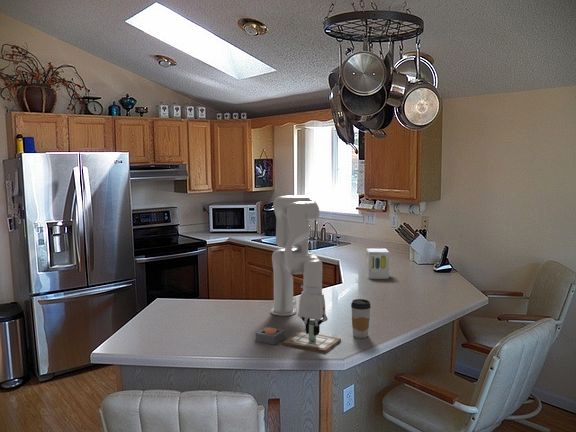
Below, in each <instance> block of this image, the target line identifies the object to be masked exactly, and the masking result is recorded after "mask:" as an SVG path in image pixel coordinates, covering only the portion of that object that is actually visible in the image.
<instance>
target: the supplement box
mask: <svg viewBox="0 0 576 432" xmlns="http://www.w3.org/2000/svg"><path fill="white" fill-rule="evenodd" d="M365 250H366V251H365V252H366V253H365V255H366V256H365V257H366V258H365V275H366V277H367V279H369V280H370V279H372V280H373V279H375V280H376V279H378V280H381V279H382V280H388V279H389V276H390V274H389V273H390V272H389V271H390V251H389V250H388V249H387V248H386V247H385V248H372V247H371V248H366V249H365Z"/></svg>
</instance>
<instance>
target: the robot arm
mask: <svg viewBox="0 0 576 432" xmlns="http://www.w3.org/2000/svg"><path fill="white" fill-rule="evenodd" d="M273 211H274V215H275V219H276V220H275V221H276V225H275V226H276V227H275V242H276V244H275V245H277V246H278V247H280V248H278V249H276V250H274V251H273V252H272V254H271V264H272V270H273V307H272V308H271V309H270V314H272V315H275V316H279V317H280V316H281V317H287V316H292V315H293V316H294V315H295V314H297V308H295V307H294V305H296V304H297V301H296V300H294V277H293V275H301V274H302V275H303V279H302V280H303V282H302V283H303V284H301V285H300V289H302V291H301V294H300V299H299V306H298V307H299V308H298V314H297V316H298V317H299V318H300V319H302V321H303V322H304V325H305V326H304V327H305V329H304V330H305V331H304V332H306V334H309V320H315V326H314V336H316V335H318V334H319V333H320V332H321V331H320V325H321V324H322V323H324V322H325V323H326V322H327V321H328V316H327V314H326V301H325V300H326V299H325V294H324V292H323V261H322V260H321V259H320V258H319V256H318V255H316V254H308V253H309V239H310V238H309V237H310V236H311V228H310V224H309V221H316V220H318V219H319V217H320V207H319V205H318V203H317V202H316V200H314V199H313V198H312V197H311V196H309V195H280V196H277V197H275V198H274V200H273Z"/></svg>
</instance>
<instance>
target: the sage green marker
mask: <svg viewBox="0 0 576 432" xmlns="http://www.w3.org/2000/svg"><path fill="white" fill-rule="evenodd" d="M314 326H315V319H310V320H309V341H316V336H314Z"/></svg>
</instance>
